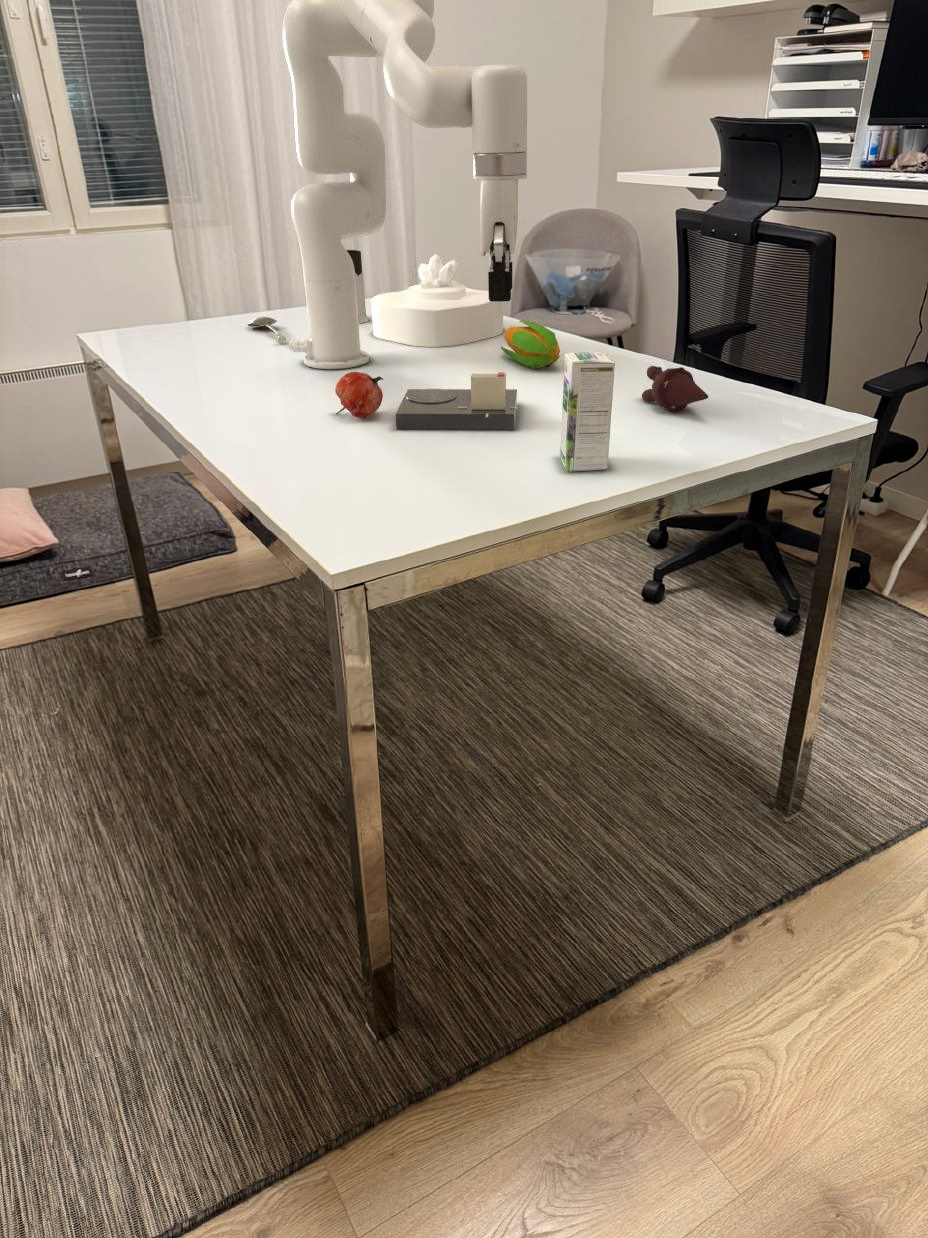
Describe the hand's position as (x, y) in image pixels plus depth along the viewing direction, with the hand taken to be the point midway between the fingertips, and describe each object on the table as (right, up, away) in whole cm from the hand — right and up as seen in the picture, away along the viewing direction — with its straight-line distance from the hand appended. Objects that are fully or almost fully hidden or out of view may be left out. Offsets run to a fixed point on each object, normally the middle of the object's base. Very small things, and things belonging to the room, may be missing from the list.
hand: (500, 295), depth 137 cm
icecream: (+28, -15, +10) cm, 33 cm away
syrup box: (+11, -27, -12) cm, 32 cm away
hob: (-6, -16, +9) cm, 20 cm away
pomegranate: (-22, -16, +10) cm, 29 cm away
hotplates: (-7, -13, +10) cm, 18 cm away
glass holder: (-32, +23, +80) cm, 90 cm away
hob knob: (-2, -16, +4) cm, 16 cm away
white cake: (-11, +14, +65) cm, 67 cm away
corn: (+7, +1, +40) cm, 40 cm away
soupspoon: (-48, +14, +66) cm, 83 cm away
